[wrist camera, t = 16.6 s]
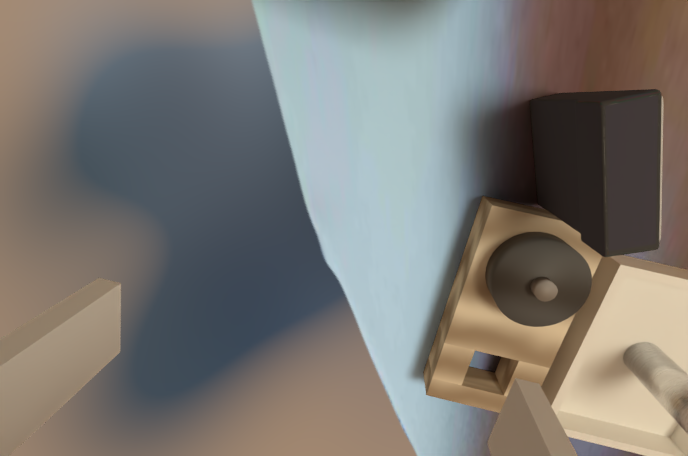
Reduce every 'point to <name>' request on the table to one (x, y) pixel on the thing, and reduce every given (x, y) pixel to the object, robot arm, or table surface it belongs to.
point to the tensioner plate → (489, 320)
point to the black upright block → (602, 166)
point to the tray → (621, 358)
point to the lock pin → (660, 378)
